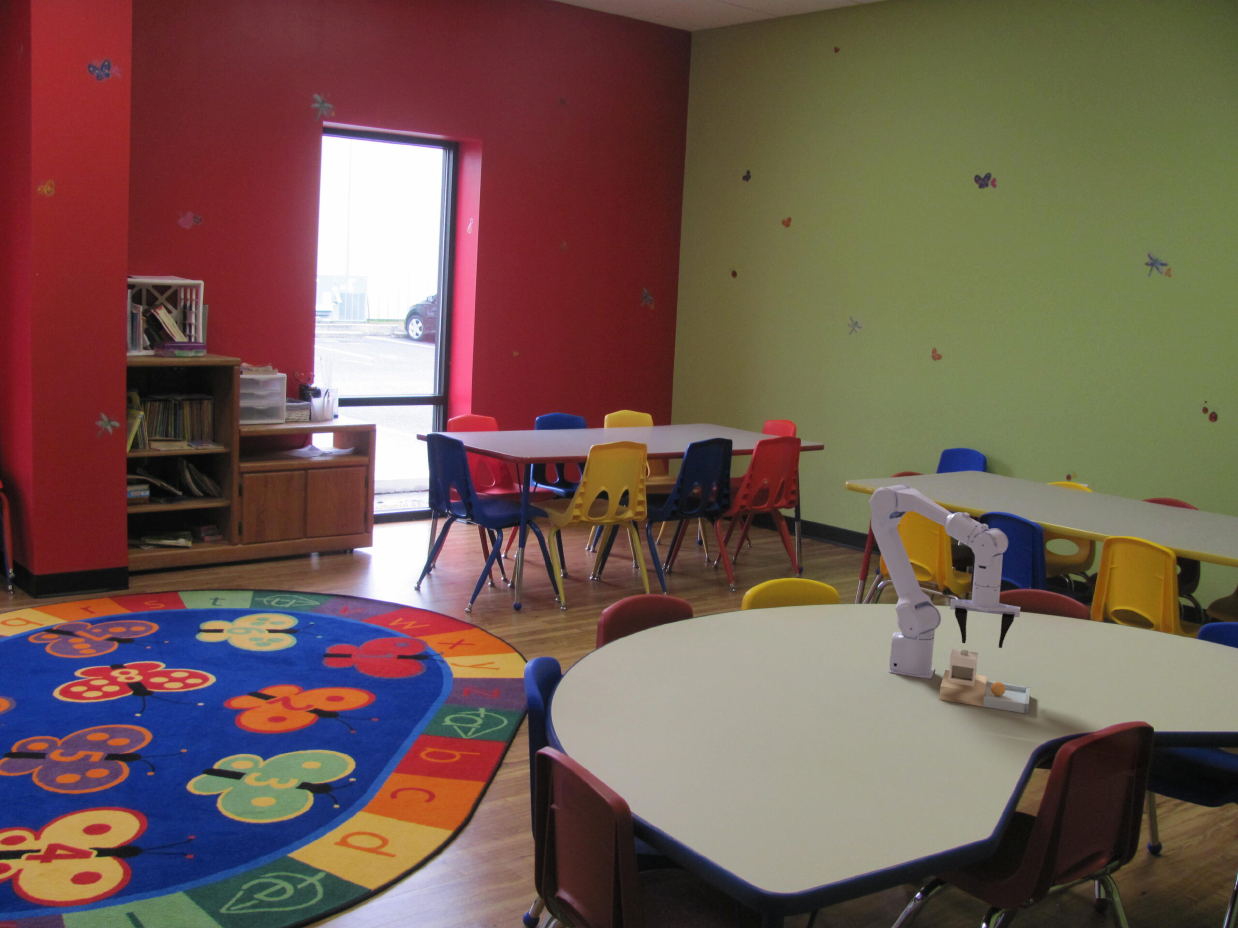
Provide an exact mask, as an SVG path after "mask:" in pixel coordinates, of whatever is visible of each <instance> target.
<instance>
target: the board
mask: <svg viewBox="0 0 1238 928" xmlns="http://www.w3.org/2000/svg"><path fill="white" fill-rule="evenodd" d="M948 678H949V670H948V669H945V671H944V674H943V676H942V680H941V682H940V683H941V684H940V689H939V698H938V699H939V701H941V700H942V701H946V702H954V703H958V704H959V703H960V704H966V705H972V706H977V707H978V706H979V707H983V702H984V696H985V691H986V685H987V681H988V676H987V675H980V674H976V680H975V684H974V686H967V685H961V684H955V683H948ZM952 678H956V679H962V680H969V681H972V679H967V678H961V677H954V676H952Z"/></svg>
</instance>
